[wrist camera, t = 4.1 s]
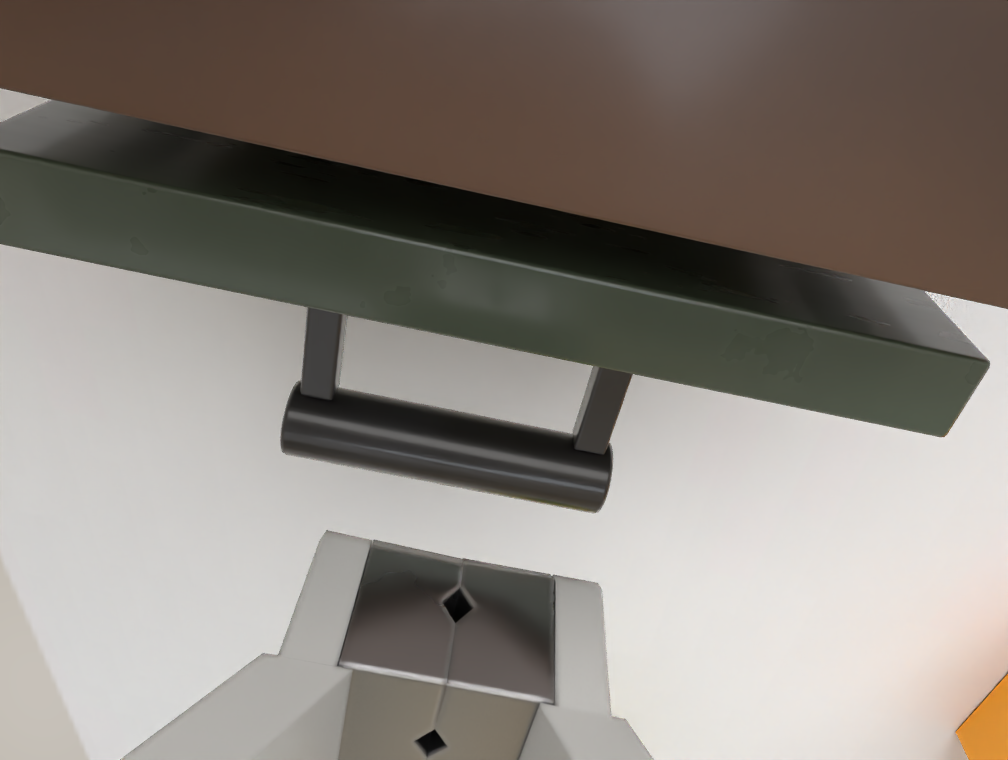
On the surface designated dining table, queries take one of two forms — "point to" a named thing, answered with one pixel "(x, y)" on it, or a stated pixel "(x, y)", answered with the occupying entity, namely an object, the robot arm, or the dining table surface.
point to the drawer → (472, 297)
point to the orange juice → (988, 727)
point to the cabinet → (597, 109)
